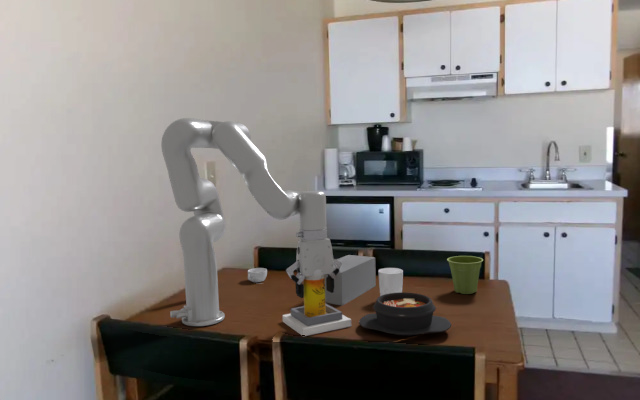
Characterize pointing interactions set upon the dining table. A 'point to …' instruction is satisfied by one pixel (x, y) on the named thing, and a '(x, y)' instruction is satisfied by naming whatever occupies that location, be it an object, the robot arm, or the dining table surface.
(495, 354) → the dining table surface
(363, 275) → the grey rectangular block
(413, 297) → the casserole
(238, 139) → the robot arm
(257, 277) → the teacup
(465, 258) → the plant pot
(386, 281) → the white cup
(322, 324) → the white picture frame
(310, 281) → the beer can
